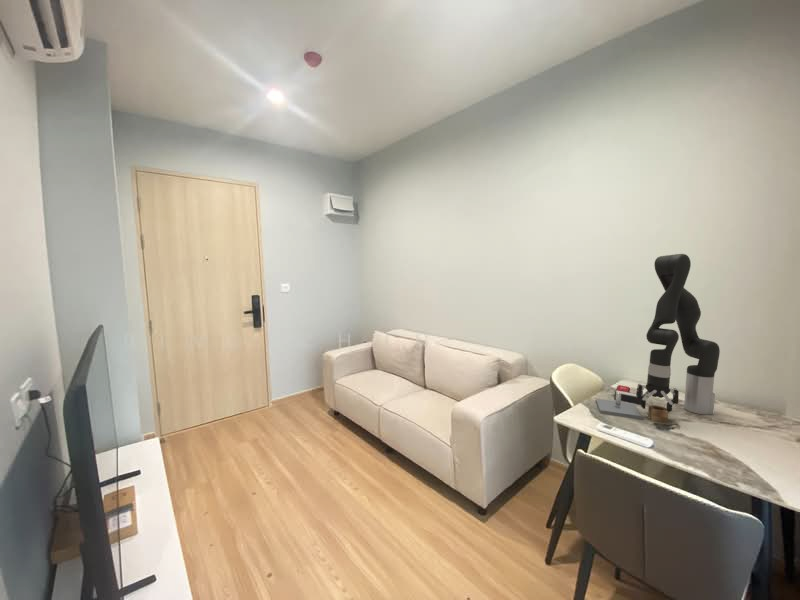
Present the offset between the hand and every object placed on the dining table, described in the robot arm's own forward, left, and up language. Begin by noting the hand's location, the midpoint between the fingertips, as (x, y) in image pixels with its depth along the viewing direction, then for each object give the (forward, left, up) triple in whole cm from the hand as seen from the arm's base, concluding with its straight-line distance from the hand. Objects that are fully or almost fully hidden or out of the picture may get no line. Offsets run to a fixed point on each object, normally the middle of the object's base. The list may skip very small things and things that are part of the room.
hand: (655, 409), depth 140 cm
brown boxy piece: (-1, 0, -4) cm, 4 cm away
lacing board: (+13, -4, -4) cm, 14 cm away
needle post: (+13, -4, -2) cm, 14 cm away
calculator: (+5, -23, -5) cm, 24 cm away
